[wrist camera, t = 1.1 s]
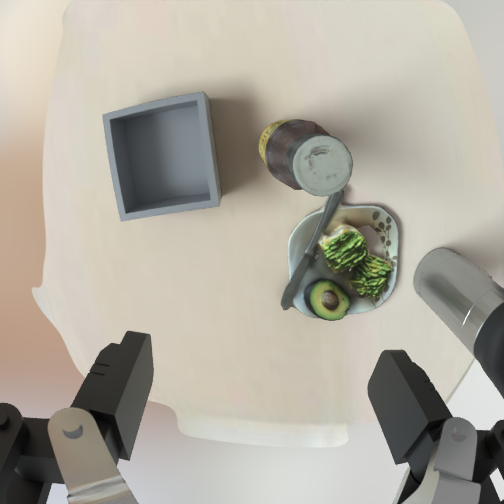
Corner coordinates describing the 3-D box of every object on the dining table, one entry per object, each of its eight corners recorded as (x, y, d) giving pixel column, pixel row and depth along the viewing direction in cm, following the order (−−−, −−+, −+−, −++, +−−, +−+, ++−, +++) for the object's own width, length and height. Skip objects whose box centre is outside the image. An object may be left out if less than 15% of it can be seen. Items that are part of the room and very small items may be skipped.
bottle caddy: (208, 98, 34) (203, 91, 29) (222, 196, 39) (219, 206, 33) (120, 116, 34) (102, 114, 29) (136, 209, 39) (120, 221, 33)
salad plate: (272, 188, 39) (276, 194, 35) (398, 182, 39) (414, 187, 35) (280, 318, 46) (283, 336, 42) (388, 303, 46) (400, 318, 42)
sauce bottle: (264, 116, 35) (289, 94, 17) (312, 129, 36) (381, 125, 18) (251, 166, 38) (263, 195, 19) (299, 178, 38) (354, 219, 20)
